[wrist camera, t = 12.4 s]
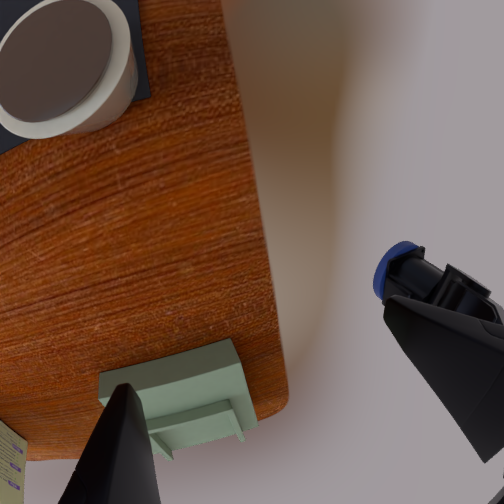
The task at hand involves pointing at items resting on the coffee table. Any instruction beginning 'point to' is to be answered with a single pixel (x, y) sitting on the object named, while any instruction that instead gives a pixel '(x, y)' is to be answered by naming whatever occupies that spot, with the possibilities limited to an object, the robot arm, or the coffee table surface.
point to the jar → (66, 69)
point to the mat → (18, 3)
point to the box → (12, 466)
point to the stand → (188, 396)
